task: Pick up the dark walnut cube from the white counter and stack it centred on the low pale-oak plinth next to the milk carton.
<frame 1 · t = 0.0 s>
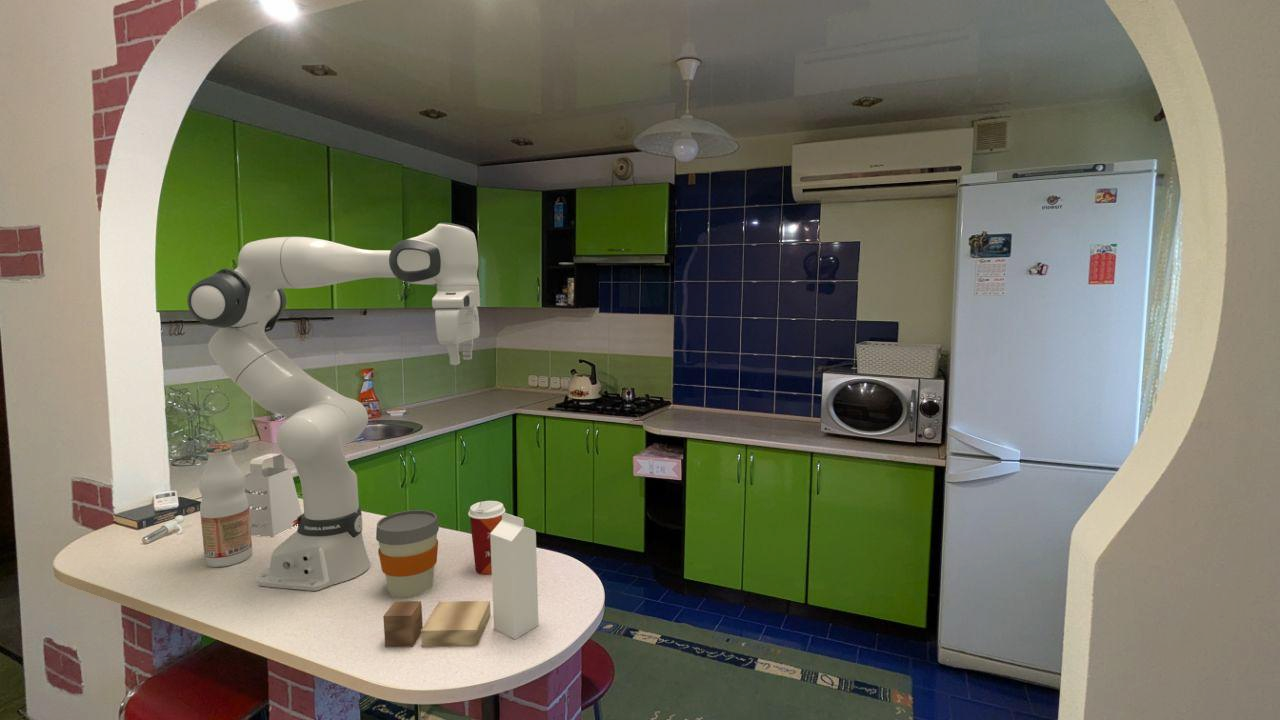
hand: (461, 362, 131), 48 cm above the worktop, fingers open, 8 cm apart
walnut cube: (404, 639, 109), on the worktop
grater: (272, 528, 161), on the worktop
reusable coffee cup: (411, 587, 128), on the worktop
oak plinth: (457, 630, 111), on the worktop
coffee cup: (489, 569, 136), on the worktop
milk: (516, 628, 112), on the worktop
fruit juice: (229, 559, 142), on the worktop
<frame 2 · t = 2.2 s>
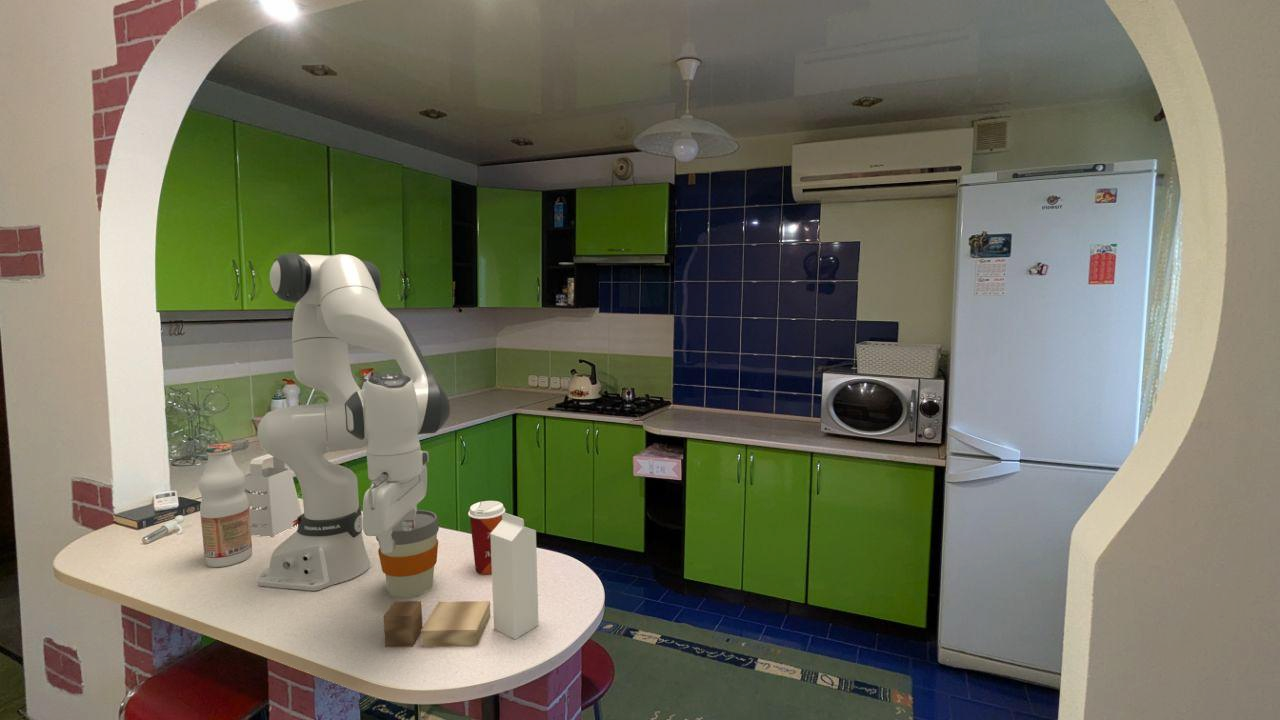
hand: (399, 540, 107), 19 cm above the worktop, fingers open, 8 cm apart
nothing on the worktop moved.
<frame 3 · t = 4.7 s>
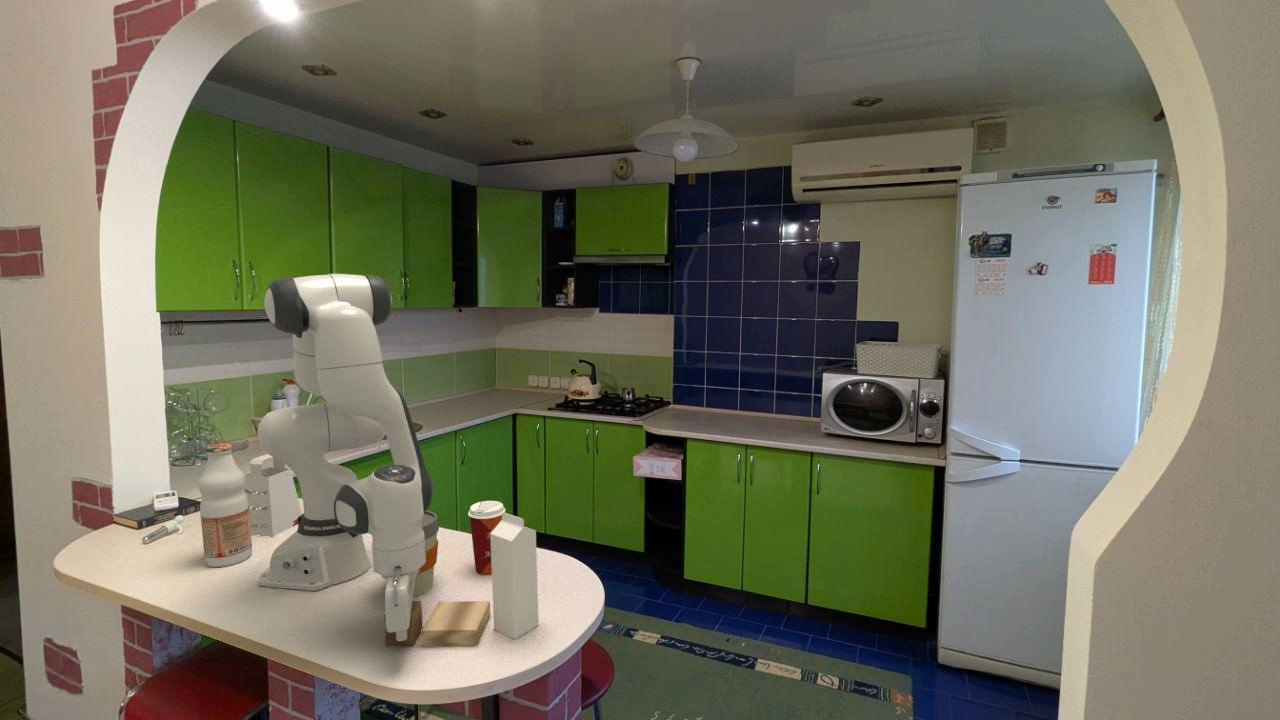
hand: (403, 627, 109), 2 cm above the worktop, fingers closed on walnut cube, 6 cm apart
walnut cube: (404, 638, 109), on the worktop, touching gripper
everything else where it was.
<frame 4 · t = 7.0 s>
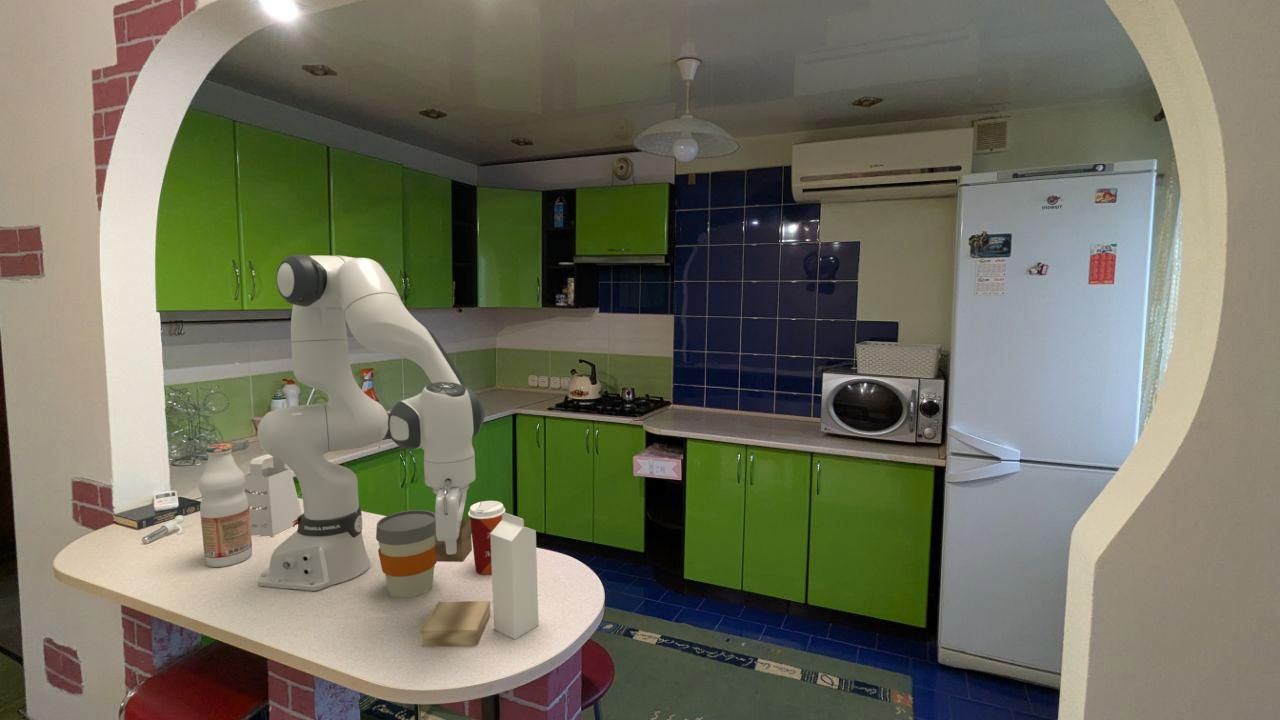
hand: (453, 544, 109), 17 cm above the worktop, fingers closed on walnut cube, 6 cm apart
walnut cube: (454, 555, 110), point 15 cm above the worktop, touching gripper
everything else where it was.
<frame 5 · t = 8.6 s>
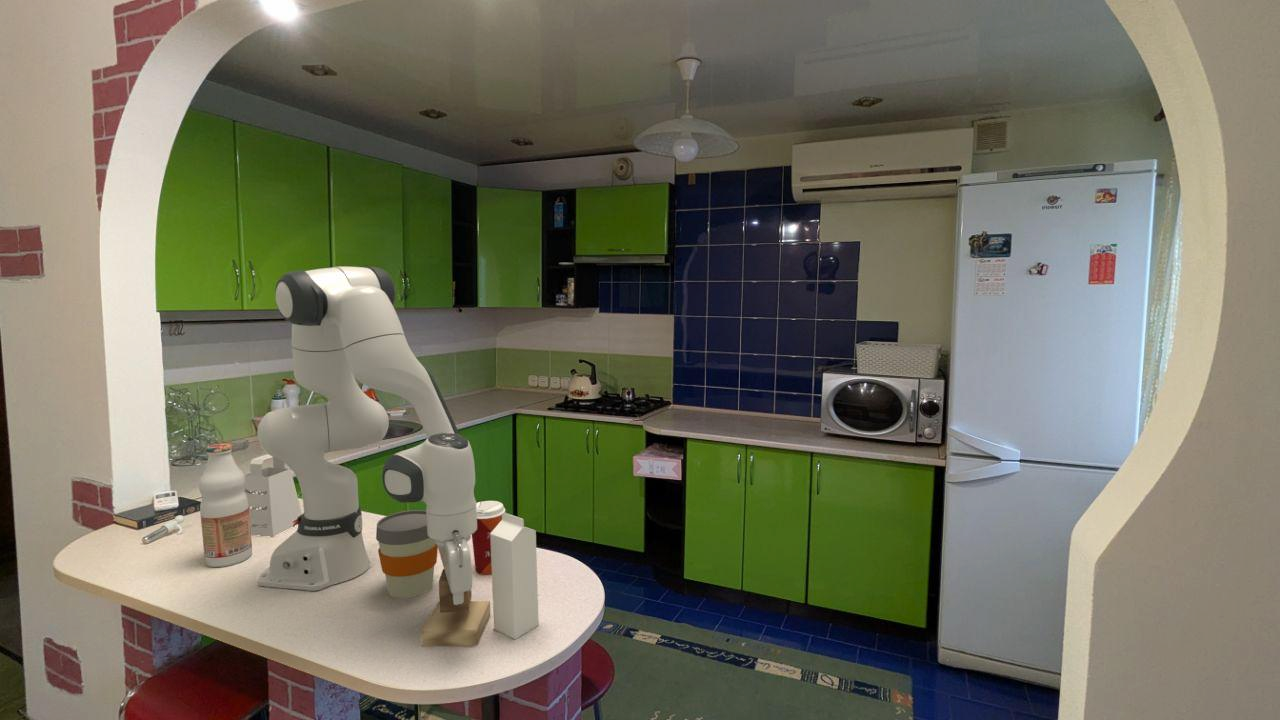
hand: (455, 593, 110), 7 cm above the worktop, fingers closed on walnut cube, 6 cm apart
walnut cube: (456, 604, 111), point 5 cm above the worktop, touching gripper
everything else where it was.
when the fingers open (7 cm above the worktop, at t = 9.7 s): walnut cube drops 1 cm, resting on oak plinth.
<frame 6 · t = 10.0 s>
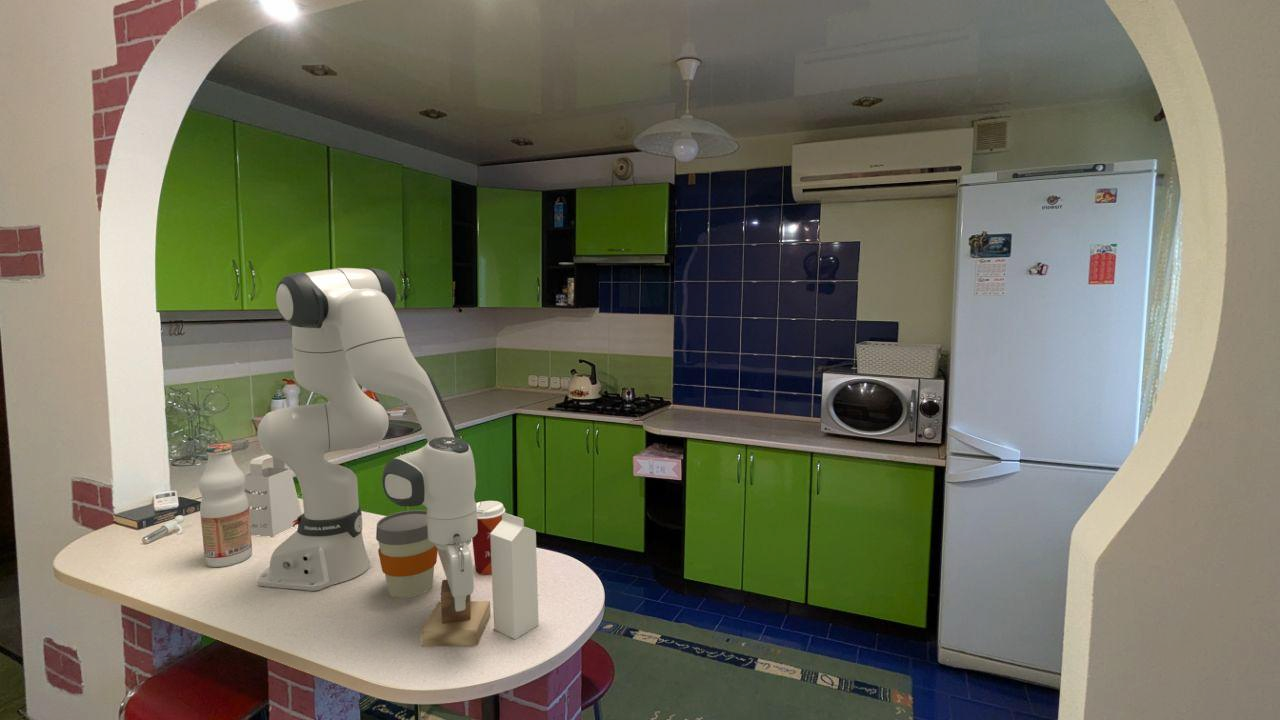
hand: (455, 597, 111), 7 cm above the worktop, fingers open, 8 cm apart
walnut cube: (456, 614, 111), point 3 cm above the worktop, touching oak plinth
everything else where it was.
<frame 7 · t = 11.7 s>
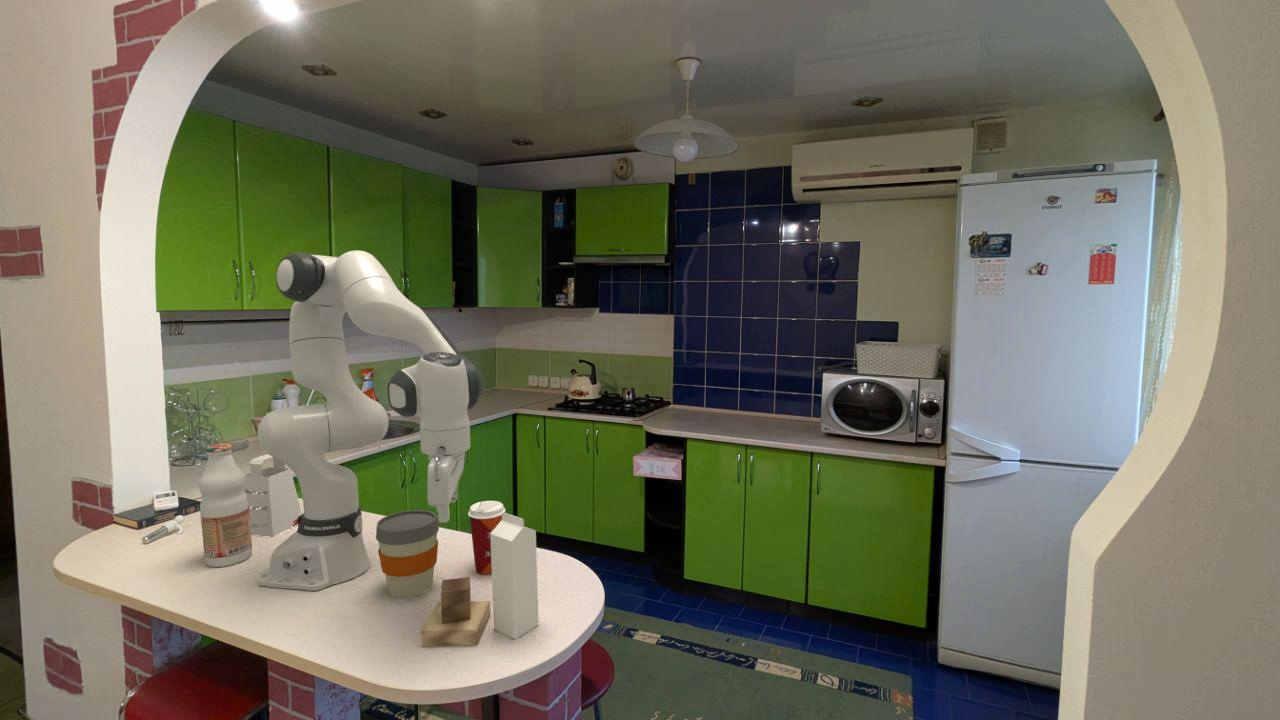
hand: (448, 510, 112), 22 cm above the worktop, fingers open, 8 cm apart
nothing on the worktop moved.
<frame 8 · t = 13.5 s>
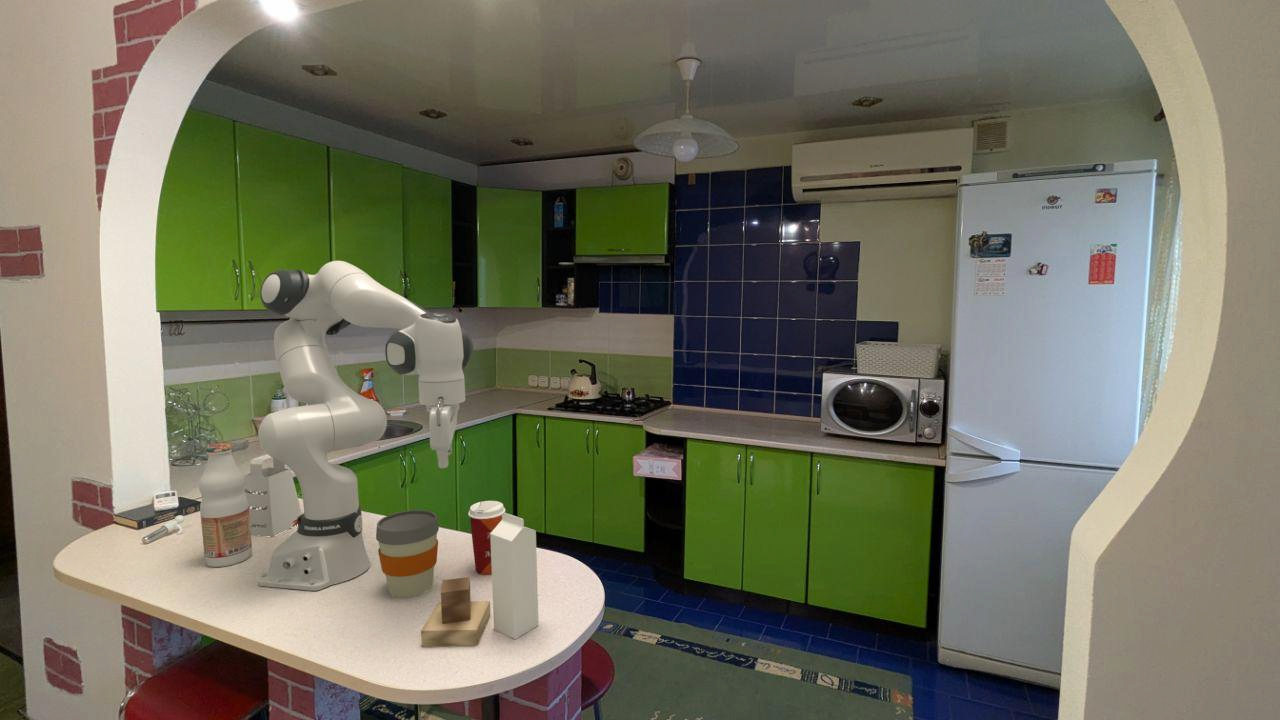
hand: (445, 460, 121), 29 cm above the worktop, fingers open, 8 cm apart
nothing on the worktop moved.
at the end: walnut cube inside the target area on the oak plinth (0.1 cm from its centre), point 3.0 cm above the oak plinth's base; walnut cube tilted 0°; the gripper is holding nothing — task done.
